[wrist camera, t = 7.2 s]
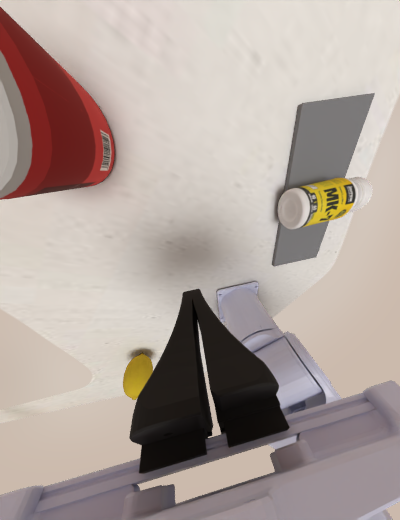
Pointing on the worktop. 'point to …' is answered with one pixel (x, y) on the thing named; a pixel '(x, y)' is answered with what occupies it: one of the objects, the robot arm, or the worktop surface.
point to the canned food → (46, 122)
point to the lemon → (137, 375)
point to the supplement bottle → (323, 201)
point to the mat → (319, 163)
